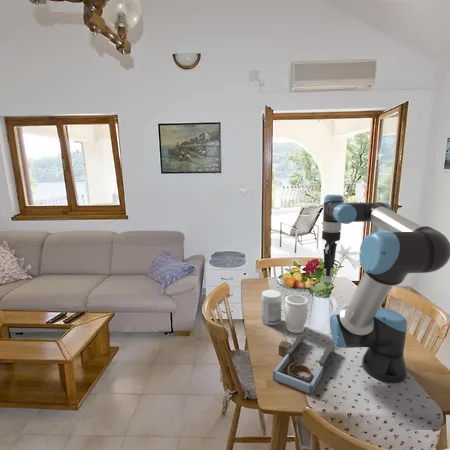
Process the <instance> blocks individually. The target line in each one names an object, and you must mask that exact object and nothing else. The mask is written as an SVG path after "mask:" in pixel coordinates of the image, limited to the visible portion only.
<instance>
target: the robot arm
mask: <svg viewBox="0 0 450 450" xmlns="http://www.w3.org/2000/svg"><path fill="white" fill-rule="evenodd" d="M323 200H324V201H323V212H322V213H323V214H322V216H323V217H322V220H323V221H322V222H321V224H322V231H321V239H322V240H324V241H325V244H324V248H323V250H322V251H323V269H325V271H324V272H325V273H324V283H329V284H332V283H333V282H332V281H333V269H335V267H336V266H334V265H335V260H336V252H337V247H338V243H336V242H338V241H340V240H341V234H342V233H341V232H342V224H344V225H348V224H351V223H355V222H356V223H361V222H362V223H367V222H368V223H369V222H370V223H372V224H373V225H375V226H376V227H377V228H379V229H380V230H382V231H374V232H370V233H369V234H367V235H366V236H365V237H364V239H363V240H362V242H361V245H360V249H359V251H360V252H359V256H358V257H359V263H360V265H361V268H362V269H363V272H364V273H363V275H362V277H361V278H360V280H359V282H358V285H357V287H356V289H355V291H354V294H353V295H352V298H351V300H350V302H349V304H348V305H346V306H344V307H342V309H341V310H340V312H339V314H336V313H334V314H332V315H330V317H329V327H330V329H329V330H330V334H331V338H332V342H333V343H335V346H336V347H338V348H345V349H348V348H349V349H350V348H351V349H355V348H367V349H366V350H365V353H364V355H363V357H362V362H361V366H362V369H363V370H364V371H365V372H366V373H367V374H368V375H369V376H371V377H372V378H374V379H376V380H379V381H382V382H386V383H401V382H403V381H405V379H406V378H407V373H408V369H407V365H406V362H405V357H404V353H405V352H404V350H405V344H406V335H407V331H408V329H407V328H408V327H407V326H408V323H407V321H408V320H406V318H405V317H404V316H403V315H402V314H400V312H397V311H395V310H392V309H390V308H386V307H382V305H383V303H384V302H385V300H386V299H387V296H388V294H389V293H390V291H391V290H392V289H393V287H394V286H398V285H400V284H401V283H403V281H404V280H405V279H406V277H407V276H408V274H428V273H434V272H437V271H439V270H440V269H441V268H442V269H443V267H445V266H446V265H447V263H448V261H449V260H450V241H449V239H448V238H447V237H446V236H445V234H444V233H442V232H441V231H439V230H437V229H435V228H433V227H430V226H429V225H427V226H425V225H424V226H422V225H419V224H418V223H415V222H413V221H412V220H410V219H408V218H406V217H404V216H402V215H400V214H398V213H397V212H396V211H394V210H393V209H392V207H391V205H390V203H389V202H380V201H377V202H344V197H343V195H341V194H327V195H325V196H324V199H323Z"/></svg>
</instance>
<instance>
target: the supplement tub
mask: <svg viewBox="0 0 450 450" xmlns="http://www.w3.org/2000/svg"><path fill="white" fill-rule="evenodd" d="M261 321H262V323H263V324H265V325H267V326H277V325H280V323H281V321H282V292H280V291H278V290H275V289H267V290H263V291H262V292H261Z"/></svg>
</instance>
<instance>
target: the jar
mask: <svg viewBox="0 0 450 450" xmlns="http://www.w3.org/2000/svg"><path fill="white" fill-rule="evenodd" d="M284 299H285V300H284V302H285V306H284V316H285V322H286V323H285V324H286V326H285V327H286V330H287V331H288V332H290V333H293V334H301V333H303V332H304V331H305V325H306V322H307V319H308V318H307V317H308V305H307V304H308V303H309V300H308V298H307V297H306V296H303V295H299V294H290V295H287V296H286V297H285V298H284Z"/></svg>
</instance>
